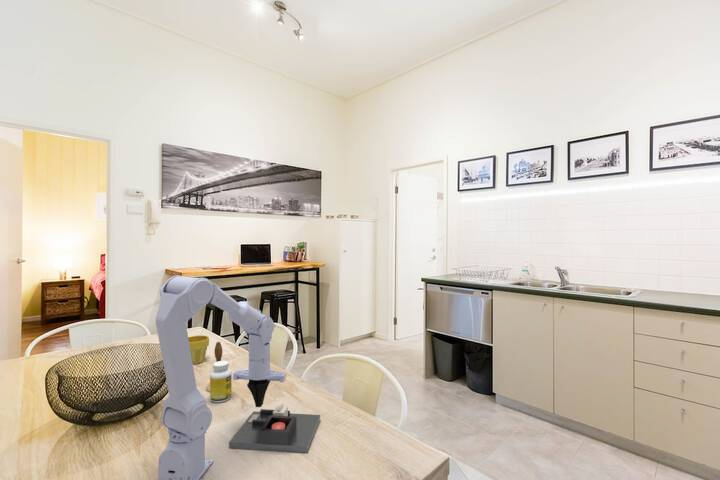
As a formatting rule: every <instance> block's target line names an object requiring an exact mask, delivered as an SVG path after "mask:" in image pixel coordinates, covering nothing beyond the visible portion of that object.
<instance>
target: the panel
mask: <svg viewBox="0 0 720 480" xmlns="http://www.w3.org/2000/svg"><path fill="white" fill-rule="evenodd" d="M274 410H275V409H269V408H268V409H267V408H266V409H264V408H261V409H260V411H252V412H251V414H250V415H249V416H248V418H247V419H246V420H245V421H244V423H242V425H241V426H240V427H239V429H238V430H237V431H236V432H235V433H234V435H233V436H232V437H231V439H230V440H229V441H228V448H229V449H241V450H253V451H254V450H255V451H267V452H268V451H269V452H273V451H274V452H286V453H301V454H308V452H309V449H310V446H311V445H312V441H313V439H314V436H315V434H316V432H317V429H318V428H319V424H320V422H321V414H310V413H309V414H306V413H291V410H288V416H275V415H273V411H274ZM277 422H283V423H285V430H276V429H272V425H273V424H274V423H277Z"/></svg>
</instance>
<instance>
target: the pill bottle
mask: <svg viewBox="0 0 720 480" xmlns="http://www.w3.org/2000/svg"><path fill="white" fill-rule="evenodd" d="M212 368H213V371H211V372H210V375H209V383H210V392H209V395H210V396H209V397H210V401H211V402H213V403H224V402H227V401H229V400H231V398H232V395H233V393H232V390H233V389H232V370H231V369H230V368H229V361H227V360H221V361H218V362H216V361H215V362H214V363H213V364H212Z"/></svg>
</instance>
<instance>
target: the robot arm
mask: <svg viewBox="0 0 720 480" xmlns="http://www.w3.org/2000/svg"><path fill="white" fill-rule="evenodd" d="M159 294H160V296H159V297H160V301H159V305H158V309H157V313H156V317H155V325H156V332H157V337H158V342H159V348H160V353H161V359H162V363H163V370H164V374H165V378H166V379H165V381H166V385H167V389H168V390H167V391H168V395H167V397H165V399H164V400H163V401H162V403H163V411H162V414H161V423H162V426H164V427H165V428H167V434H168V440H167V444H166V447H165V449H164V450H163V451H162V452H161V454H160V456H159V457H158V480H201V478H202V476H204V474H205V473H206V471H207V470H209V467H210V466H211V465H212V464H213V463H214V460H213V459H206V435H205V434H206V433H207V431H208V430H209V428H210V427H211V424H212V420H213V412H212V410H211V408H209V406H208V405H207V401H206V398H205V397H204V396H203V395H202V394H201V393H200V391H199V390H198V386H197V380H196V375H195V369H194V364H193V363H192V357H191V351H190V345H189V339H188V337H189V336H188V329H187V323H188V322H189V320H191V319H192V318H193V317H195V315H196V314H198V313H199V312H200V311H201V310H202V309H203V308H205V306H206V305H207V304H211V305H213V306H215V307H216V308H218V309H220V310H222V311H224V312H226V313H227V314H228V316H229V317H228V319H229V320H230V321H232V322H233V323H234V324H236V325H237V326H239V327H241V328H243V330H244V333H245V334H248V369H245V370H235V371H234V372H233V374H232V375H233V377H232V378H233V379H232V380H233V381H237V380H248V382H247V384H246V386H247V388H248V390H249V391H250V393H251V395H252V398H253V400H254V405H255V408H261V407H262V406H263V404H264V401H265V396H266V393H267V390H268V387H269V385H270V383H271V381H272V382H279V383H284V382H285V380H286V376H287V375H286V372H280V371H276V370H271V342H272V339H273V337H272V336H273V332H274V330H275V327H276V326H275V325H276V324H275V323H274V320H273V319H272V317H271V316H269V315H265V314H263V313H262V311H261V309H256V308H254V307H253V306H251V305H252V303H251V302H250V301H247V300H246V301H245V300H244V301H243V300H242V301H241V300H240V301H237V300H235V299H234V298H233V297H231V296H230V295H229V294H228V293H227V292H225V291H224V290H223V289H221V288H220V287H219V286H218V285H217V283H216V282H215V283H214V282H213V281H211V280H210V279H208V278H206V277H191V276H183V275H173V276H171V277H170V278H168V279H167V280H166V281H165V283H164V284H163V285H162V286H161V288H159Z"/></svg>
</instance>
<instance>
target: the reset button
mask: <svg viewBox="0 0 720 480" xmlns="http://www.w3.org/2000/svg"><path fill="white" fill-rule="evenodd" d="M272 429H276V430H285V423H283V422H277V423H274V424H273V425H272Z"/></svg>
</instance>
